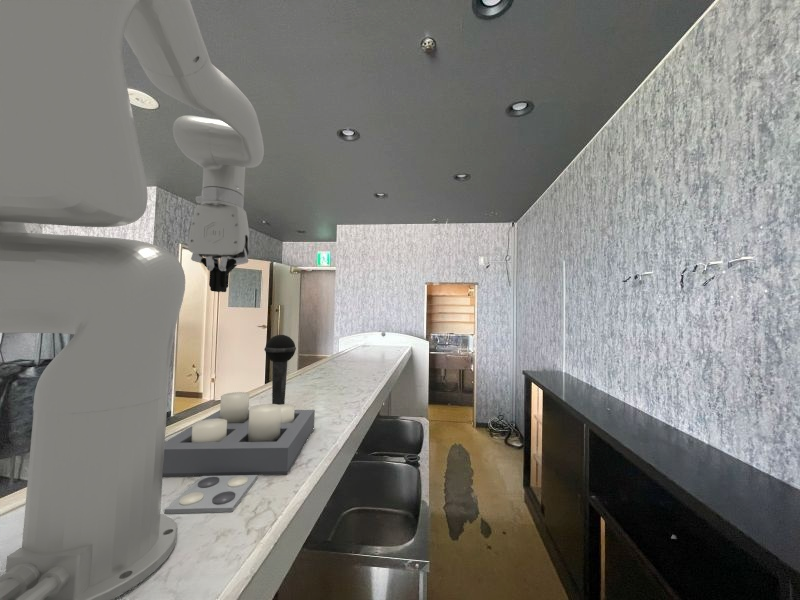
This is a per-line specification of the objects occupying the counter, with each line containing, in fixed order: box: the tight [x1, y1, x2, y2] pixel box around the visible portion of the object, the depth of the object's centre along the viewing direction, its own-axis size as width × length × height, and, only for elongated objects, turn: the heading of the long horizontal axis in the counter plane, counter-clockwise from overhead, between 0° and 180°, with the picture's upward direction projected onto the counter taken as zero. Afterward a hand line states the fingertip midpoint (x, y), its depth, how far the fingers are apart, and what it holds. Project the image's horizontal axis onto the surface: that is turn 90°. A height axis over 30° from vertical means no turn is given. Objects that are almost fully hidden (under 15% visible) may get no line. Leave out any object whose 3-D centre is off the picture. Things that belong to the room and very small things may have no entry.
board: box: [163, 409, 315, 478], centre depth 57 cm, size 20×20×4 cm
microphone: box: [264, 334, 297, 405], centre depth 71 cm, size 7×7×20 cm
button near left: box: [191, 419, 227, 443], centre depth 52 cm, size 5×5×5 cm
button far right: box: [280, 403, 296, 423], centre depth 62 cm, size 5×5×5 cm
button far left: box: [219, 391, 250, 423], centre depth 61 cm, size 5×5×5 cm
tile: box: [163, 475, 259, 515], centre depth 42 cm, size 8×8×1 cm
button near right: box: [248, 403, 281, 442], centre depth 53 cm, size 5×5×5 cm
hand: (218, 291), depth 63 cm, fingers closed
